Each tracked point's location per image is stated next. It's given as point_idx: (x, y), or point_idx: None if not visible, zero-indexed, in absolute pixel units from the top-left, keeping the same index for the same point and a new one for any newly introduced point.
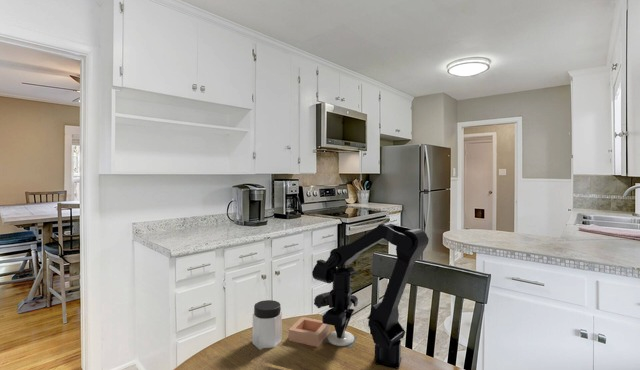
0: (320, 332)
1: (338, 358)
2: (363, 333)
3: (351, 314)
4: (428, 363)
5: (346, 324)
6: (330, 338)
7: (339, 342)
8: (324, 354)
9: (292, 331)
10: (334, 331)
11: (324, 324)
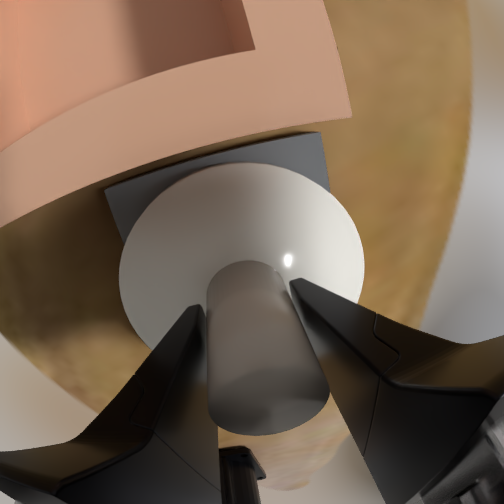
0: (6, 219)
1: (69, 358)
2: (411, 321)
3: (384, 498)
4: (284, 489)
5: (332, 388)
6: (151, 239)
7: (155, 334)
8: (28, 282)
9: None
10: (308, 188)
11: (224, 94)
